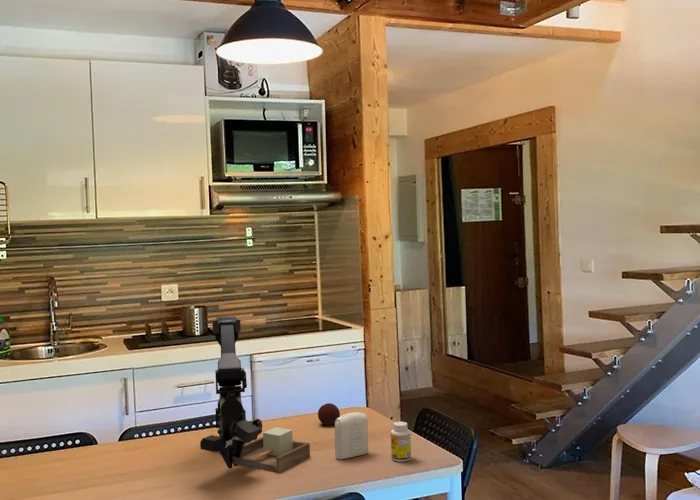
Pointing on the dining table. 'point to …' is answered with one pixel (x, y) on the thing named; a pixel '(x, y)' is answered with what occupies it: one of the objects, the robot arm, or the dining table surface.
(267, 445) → the corded block
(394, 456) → the supplement bottle
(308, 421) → the dining table surface
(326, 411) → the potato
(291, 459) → the brown wooden tray
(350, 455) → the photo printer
